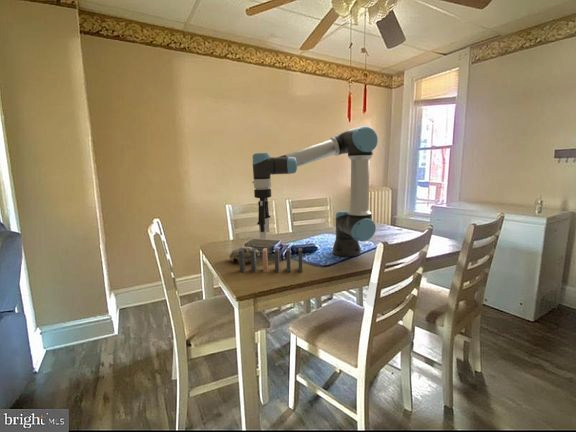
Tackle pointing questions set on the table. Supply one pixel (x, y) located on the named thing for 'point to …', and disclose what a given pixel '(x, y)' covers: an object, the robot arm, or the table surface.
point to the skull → (247, 251)
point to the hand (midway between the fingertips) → (264, 235)
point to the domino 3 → (265, 260)
